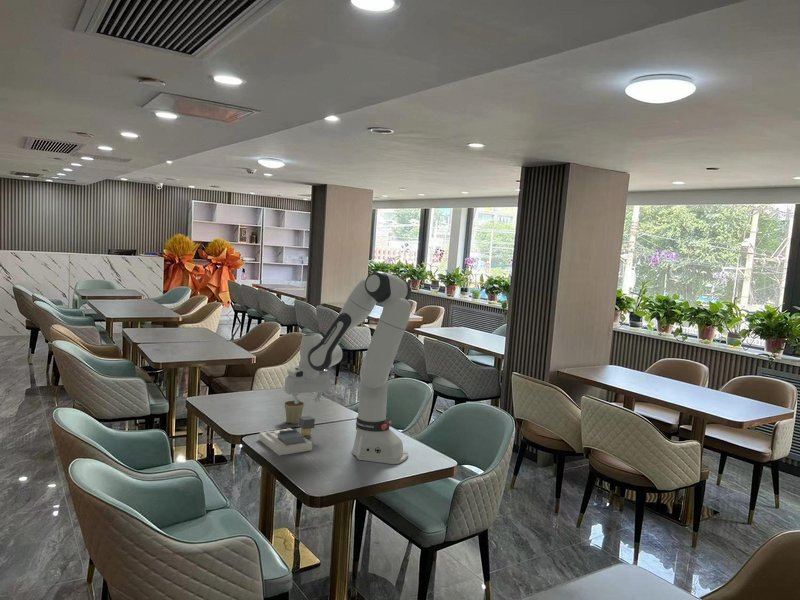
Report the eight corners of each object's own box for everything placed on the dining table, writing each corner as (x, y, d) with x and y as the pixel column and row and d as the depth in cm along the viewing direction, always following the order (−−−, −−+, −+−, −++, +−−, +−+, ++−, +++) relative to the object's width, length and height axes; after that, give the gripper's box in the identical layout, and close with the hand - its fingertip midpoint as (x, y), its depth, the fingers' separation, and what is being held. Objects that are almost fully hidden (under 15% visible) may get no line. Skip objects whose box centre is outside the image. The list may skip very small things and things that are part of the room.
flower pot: (292, 426, 260) (293, 407, 259) (278, 421, 265) (279, 402, 265) (308, 422, 267) (309, 403, 267) (293, 417, 273) (294, 399, 272)
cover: (303, 441, 230) (304, 433, 230) (284, 444, 226) (285, 436, 225) (296, 436, 236) (296, 428, 236) (277, 439, 231) (277, 431, 231)
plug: (313, 435, 249) (314, 418, 249) (303, 436, 247) (303, 420, 246) (308, 431, 253) (309, 415, 253) (298, 433, 251) (298, 416, 250)
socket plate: (311, 450, 231) (312, 440, 231) (278, 455, 223) (279, 445, 223) (290, 435, 247) (291, 426, 247) (259, 439, 239) (259, 430, 239)
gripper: (327, 367, 256) (325, 398, 257) (283, 370, 245) (281, 402, 246) (334, 371, 251) (332, 402, 252) (290, 373, 239) (288, 406, 241)
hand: (306, 402), depth 249 cm, fingers open, 8 cm apart
